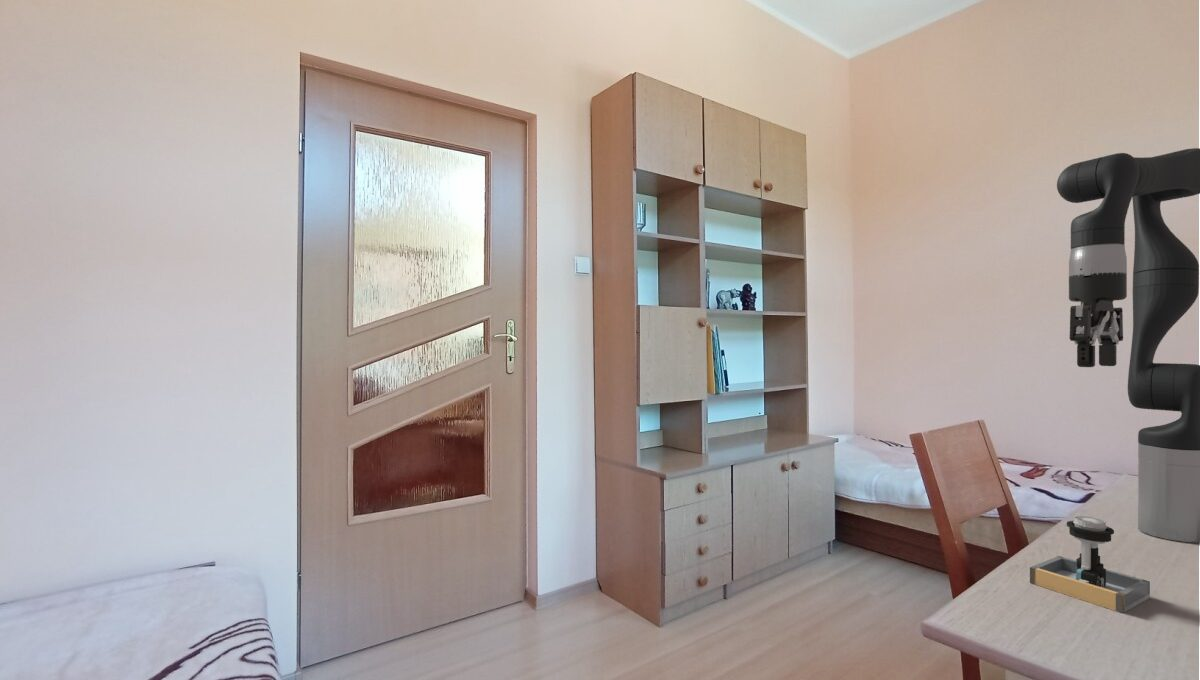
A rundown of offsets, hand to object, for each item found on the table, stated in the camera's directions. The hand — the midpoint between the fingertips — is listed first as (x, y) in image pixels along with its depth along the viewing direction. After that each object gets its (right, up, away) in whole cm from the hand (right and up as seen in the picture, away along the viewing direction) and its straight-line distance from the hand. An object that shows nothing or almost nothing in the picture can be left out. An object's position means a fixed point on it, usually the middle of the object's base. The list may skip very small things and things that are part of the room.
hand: (1097, 366), depth 97 cm
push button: (-13, -33, -13) cm, 38 cm away
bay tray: (-13, -33, -13) cm, 38 cm away
